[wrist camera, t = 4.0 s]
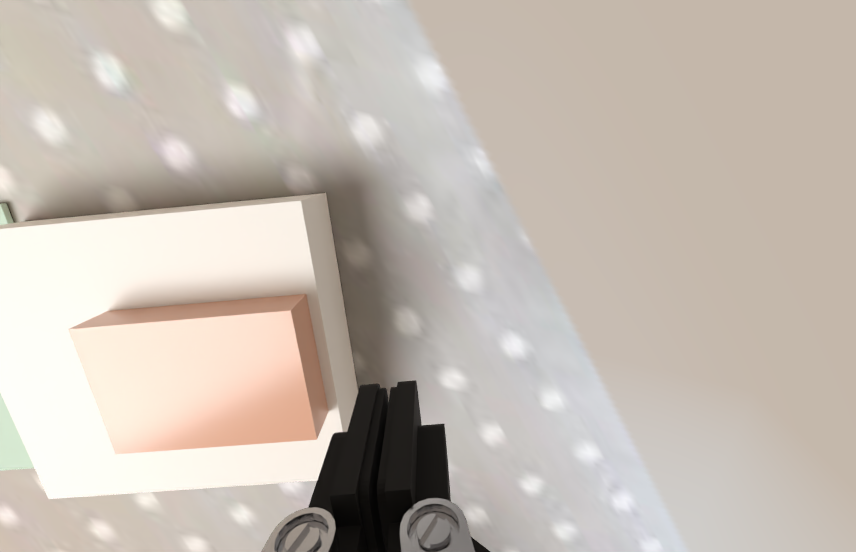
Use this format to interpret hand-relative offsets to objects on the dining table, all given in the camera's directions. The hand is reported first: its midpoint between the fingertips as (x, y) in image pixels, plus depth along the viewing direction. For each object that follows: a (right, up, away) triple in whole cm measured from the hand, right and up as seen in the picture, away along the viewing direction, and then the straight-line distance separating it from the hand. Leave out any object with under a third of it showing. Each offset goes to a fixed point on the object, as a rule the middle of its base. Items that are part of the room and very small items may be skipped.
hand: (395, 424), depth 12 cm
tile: (-9, 0, +6) cm, 11 cm away
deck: (-11, +1, +10) cm, 16 cm away
